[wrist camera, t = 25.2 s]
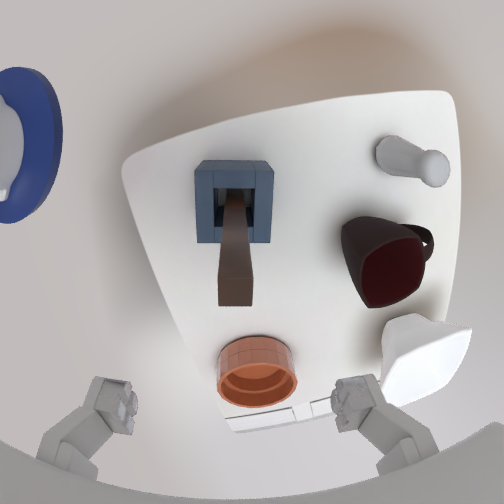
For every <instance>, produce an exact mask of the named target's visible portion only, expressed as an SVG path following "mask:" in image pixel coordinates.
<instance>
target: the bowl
mask: <svg viewBox="0 0 504 504" xmlns="http://www.w3.org/2000/svg"><path fill="white" fill-rule="evenodd" d="M471 334H472V328H471V327H467V326H462V325H457V324H452V323H447V322H443V321H437V322H431V321H430V320H428V319H426V318H425V317H423V316H421V315H419V314H418V313H411V314H407V315H404V316H400V317H397V318H394V319H392V320H390V321H388V322H387V323H386V325H385V327H384V330H383V334H382V340H381V345H382V352H383V361H382V368H381V377H380V386H379V387H380V389H381V391H382V393H383V395H384V397H385V400H386V402H387V403H391V404H393V405H394V406H396V407H400V406H402V405H405V404H408V403H410V402H413V401H415V400H418V399H420V398H422V397H425V396H427V395H429V394H431V393H433V392H435V391H437V390H438V389H440V388H442V387H444V386H445V385H446V384H447V383H448V382H449V380H450V379H451V378H452V376H453V375H454V374H455V372H456V370H457V369H458V367H459V365H460V363H461V362H462V360H463V358H464V356H465V353H466V351H467V348H468V346H469V343H470V339H471Z"/></svg>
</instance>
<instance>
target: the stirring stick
mask: <svg viewBox="0 0 504 504" xmlns="http://www.w3.org/2000/svg"><path fill="white" fill-rule="evenodd" d="M252 299H253V270H252V262H251V253H250V245H249V236H248V228H247V219H246V211H245V202H244V194H243V188H227V193H226V202H225V210H224V219H223V229H222V238H221V248H220V258H219V268H218V305H219V306H252Z"/></svg>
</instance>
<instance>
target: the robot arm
mask: <svg viewBox="0 0 504 504" xmlns="http://www.w3.org/2000/svg"><path fill="white" fill-rule="evenodd" d="M23 151H24V135H23V128H22V124H21V121H20V118H19V116H18V114H17V113H16V112H15V110H14V109H13V108H11V107H10V106H8V105H7V104H6V103H5V101H4V99H3V97H2V95H0V201H4V200H7V198H8V195H9V191H10V186H11V184H12V182H13V181H14V179H15V177H16V176H17V174H18V172H19V169H20V166H21V162H22V158H23ZM335 386H336V389H334V390H333V391H332V394H331V407H332V411H333V412H334V413H336V414H337V417H336V419H335V421H336V424H337V427H338V431H339V432H345V431H351V430H356V429H358V431H359V432H360V433H361V434H362V435H363V436H364V437H366V438H367V439H368V440H369V441H370V442H371V443H372V444H373V445H374V446H375V447H376V448H378V449H379V450H380V451H381V452H382V453H383V454H384V455H385V456H384V457H383V458H382V459H381V460H380V461H379V462H378V463H377V464H376V466H377V470H378V473H379V477H375V478H372V479H368V480H365V481H362V482H358V483H354V484H350V485H346V486H342V487H338V488H333V489H328V490H323V491H318V492H313V493H306V494H300V495H293V496H284V497H274V498H262V499H239V500H220V499H196V498H184V497H175V496H166V495H159V494H152V493H146V492H141V491H136V490H131V489H126V488H122V487H118V486H114V485H109V484H106V483H102V482H99V481H96V479H97V474H98V468H97V467H96V466H95V465H94V464H93V463H92V462H91V461H89V459H90V458H91V457H92V456H93V455H94V454H95V452H96V451H97V450H98V449H99V448H100V447H101V446H102V445H103V444H104V443H105V442H106V441H107V440H108V439H109V438H110V437H111V435H112V434H113V432H114V433H120V434H126V435H132V432H133V427H134V423H135V422H134V420H133V418H132V417H133V416H134V415H135V414H136V413H137V409H138V400H137V396H136V394H135V392H133V391H132V390H131V389H132V385H131V383H130V382H128V381H121V380H114V379H108V378H103V377H97V376H96V377H95V378H94V379H93V380H92V383H91V385H90V388H89V391H88V393H87V396H86V398H85V401H84V404H83V407H80V406H79V407H78V408H77V409H76V410H74V411H73V412H72V413H70V414H69V415H68V416H66V417H65V418H64V419H62V420H61V421H60V422H59V423H57V424H56V425H55V426H53V427H52V428H51V429H49V430H48V431H47V432H46V433H44V435H43V438H42V441H41V444H40V446H39V449H38V452H37V456H36V458H34V457H32V456H30V455H28V454H26V453H24V452H22V451H20V450H18V449H16V448H14V447H12V446H10V445H8V444H7V443H5V442H3V441H1V440H0V504H504V425H503V424H500V423H498V422H493V423H490V424H489V425H487V426H485V427H484V428H482V429H481V430H479V431H478V432H476V433H474V434H472V435H471V436H469V437H467V438H466V439H464V440H462V441H460V442H458V443H456V444H455V445H453V446H451V447H449V448H447V449H445V450H443V451H441V452H439V450H438V447H437V445H436V443H435V441H434V439H433V437H432V434H431V432H430V430H429V429H428V428H427V427H425V426H424V425H422V424H421V423H419V422H418V421H416V420H415V419H413V418H412V417H410V416H409V415H407V414H406V413H404V412H403V411H401V410H400V409H398V408H397V407H396V406H394V405H393V404H391V403H387V402H386V400H385V397H384V395H383V393H382V391H381V389H380V387H379V384H378V382H377V380H376V378H375V376H374V375H373V374H367V375H362V376H355V377H349V378H343V379H338V380H337V382H336V384H335Z"/></svg>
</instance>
